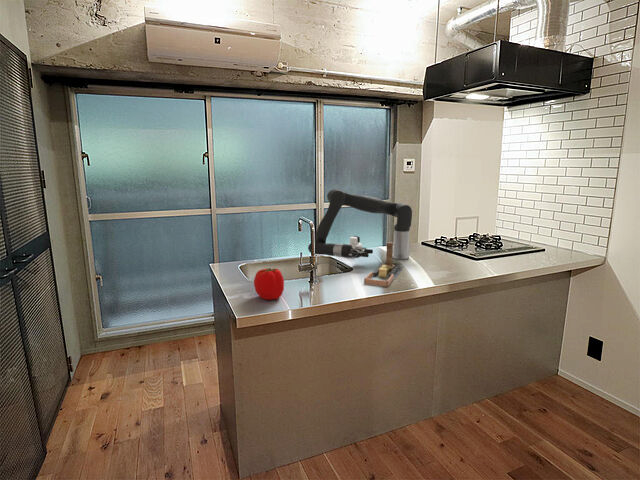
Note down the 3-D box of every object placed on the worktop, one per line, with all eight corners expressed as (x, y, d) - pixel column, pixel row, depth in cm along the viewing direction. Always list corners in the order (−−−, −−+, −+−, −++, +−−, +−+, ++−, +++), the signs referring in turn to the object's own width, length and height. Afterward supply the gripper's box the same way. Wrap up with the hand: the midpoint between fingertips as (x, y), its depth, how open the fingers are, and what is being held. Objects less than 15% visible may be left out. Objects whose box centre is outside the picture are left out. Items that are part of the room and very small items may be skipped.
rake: (386, 267, 214) (387, 240, 210) (395, 268, 212) (396, 241, 209) (382, 270, 207) (383, 243, 204) (392, 271, 205) (393, 244, 202)
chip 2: (382, 271, 205) (383, 264, 205) (390, 272, 204) (390, 265, 203) (381, 273, 202) (381, 266, 201) (388, 274, 200) (389, 267, 199)
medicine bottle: (352, 253, 249) (352, 234, 246) (362, 254, 245) (362, 236, 243) (347, 255, 243) (347, 236, 240) (357, 257, 239) (357, 238, 237)
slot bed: (380, 266, 219) (380, 261, 218) (403, 269, 214) (403, 264, 213) (369, 277, 199) (370, 272, 198) (394, 280, 194) (395, 275, 193)
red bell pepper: (275, 305, 162) (275, 274, 159) (247, 301, 167) (246, 270, 164) (292, 293, 176) (291, 264, 173) (265, 289, 181) (264, 261, 178)
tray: (371, 277, 198) (371, 271, 198) (393, 280, 194) (393, 274, 193) (364, 285, 187) (364, 278, 186) (387, 288, 183) (387, 281, 182)
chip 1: (380, 274, 201) (380, 267, 200) (388, 275, 199) (388, 267, 199) (378, 276, 197) (378, 269, 196) (386, 277, 196) (386, 270, 195)
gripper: (338, 246, 211) (367, 249, 205) (347, 241, 224) (374, 244, 217) (338, 260, 212) (366, 263, 206) (346, 254, 225) (373, 256, 219)
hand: (370, 253), depth 212 cm, fingers open, 8 cm apart
